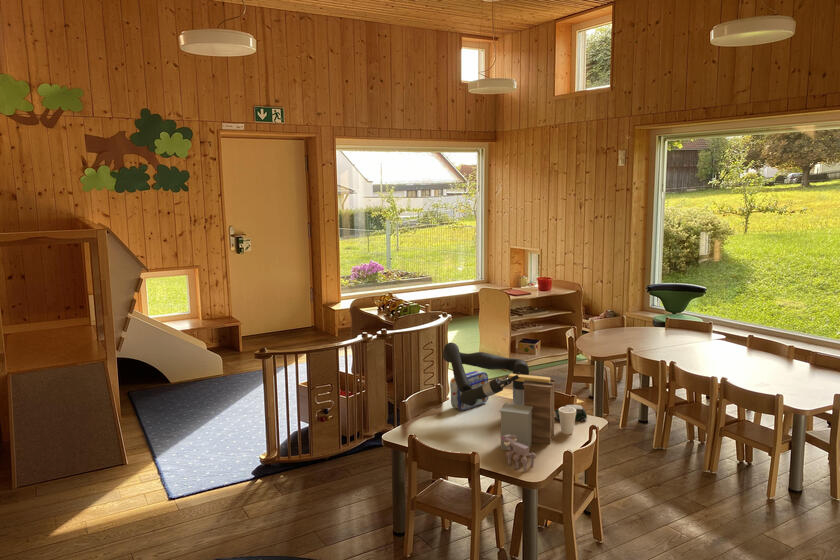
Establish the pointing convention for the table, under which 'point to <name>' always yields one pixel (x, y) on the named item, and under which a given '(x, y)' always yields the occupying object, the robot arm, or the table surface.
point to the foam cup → (567, 419)
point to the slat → (530, 378)
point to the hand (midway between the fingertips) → (519, 375)
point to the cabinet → (541, 409)
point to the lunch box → (474, 381)
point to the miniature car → (579, 412)
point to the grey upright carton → (516, 423)
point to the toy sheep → (517, 451)
